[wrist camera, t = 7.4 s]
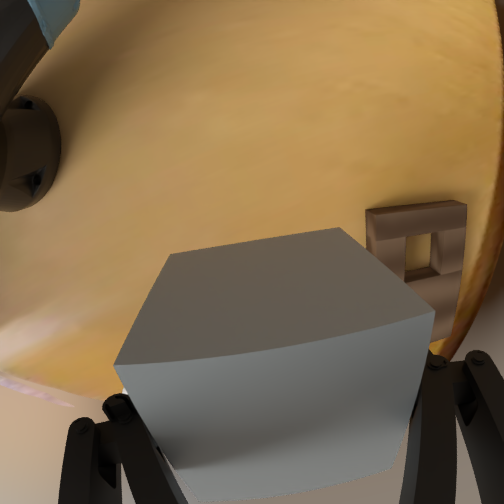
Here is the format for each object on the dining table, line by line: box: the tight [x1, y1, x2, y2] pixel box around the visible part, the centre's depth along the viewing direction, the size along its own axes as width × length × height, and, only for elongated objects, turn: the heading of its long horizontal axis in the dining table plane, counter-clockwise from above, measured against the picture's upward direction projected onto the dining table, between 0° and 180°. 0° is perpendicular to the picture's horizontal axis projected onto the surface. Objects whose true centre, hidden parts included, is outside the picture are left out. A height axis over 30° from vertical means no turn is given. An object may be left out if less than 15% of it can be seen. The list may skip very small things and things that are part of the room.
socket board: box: [365, 200, 467, 343], centre depth 36 cm, size 20×14×3 cm
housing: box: [113, 227, 435, 502], centre depth 13 cm, size 9×9×9 cm
